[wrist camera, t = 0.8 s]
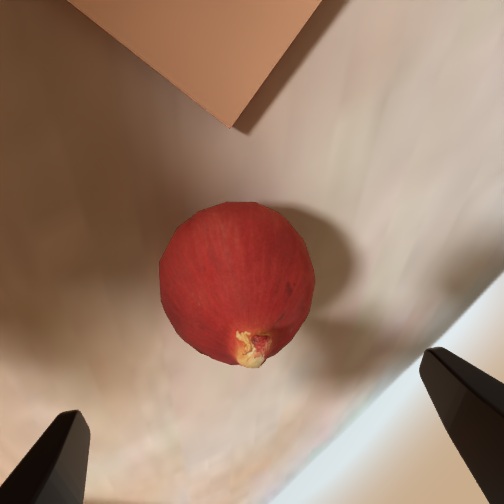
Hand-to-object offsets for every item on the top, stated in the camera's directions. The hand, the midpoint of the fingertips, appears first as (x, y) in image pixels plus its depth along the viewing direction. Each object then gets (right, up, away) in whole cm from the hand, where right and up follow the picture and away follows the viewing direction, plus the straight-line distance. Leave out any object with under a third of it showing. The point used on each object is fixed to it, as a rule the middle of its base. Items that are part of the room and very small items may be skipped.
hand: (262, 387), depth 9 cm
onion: (-1, +4, +8) cm, 9 cm away
